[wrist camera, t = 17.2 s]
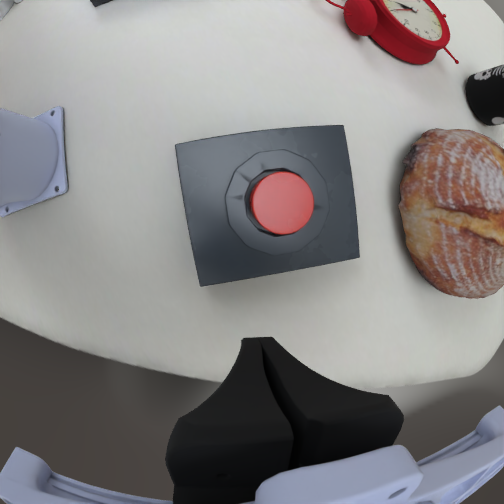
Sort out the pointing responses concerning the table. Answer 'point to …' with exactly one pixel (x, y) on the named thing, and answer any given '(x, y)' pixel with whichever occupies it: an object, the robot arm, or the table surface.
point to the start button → (282, 202)
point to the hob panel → (99, 2)
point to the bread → (455, 211)
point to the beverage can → (487, 95)
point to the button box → (238, 201)
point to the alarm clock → (400, 26)
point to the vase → (6, 6)
